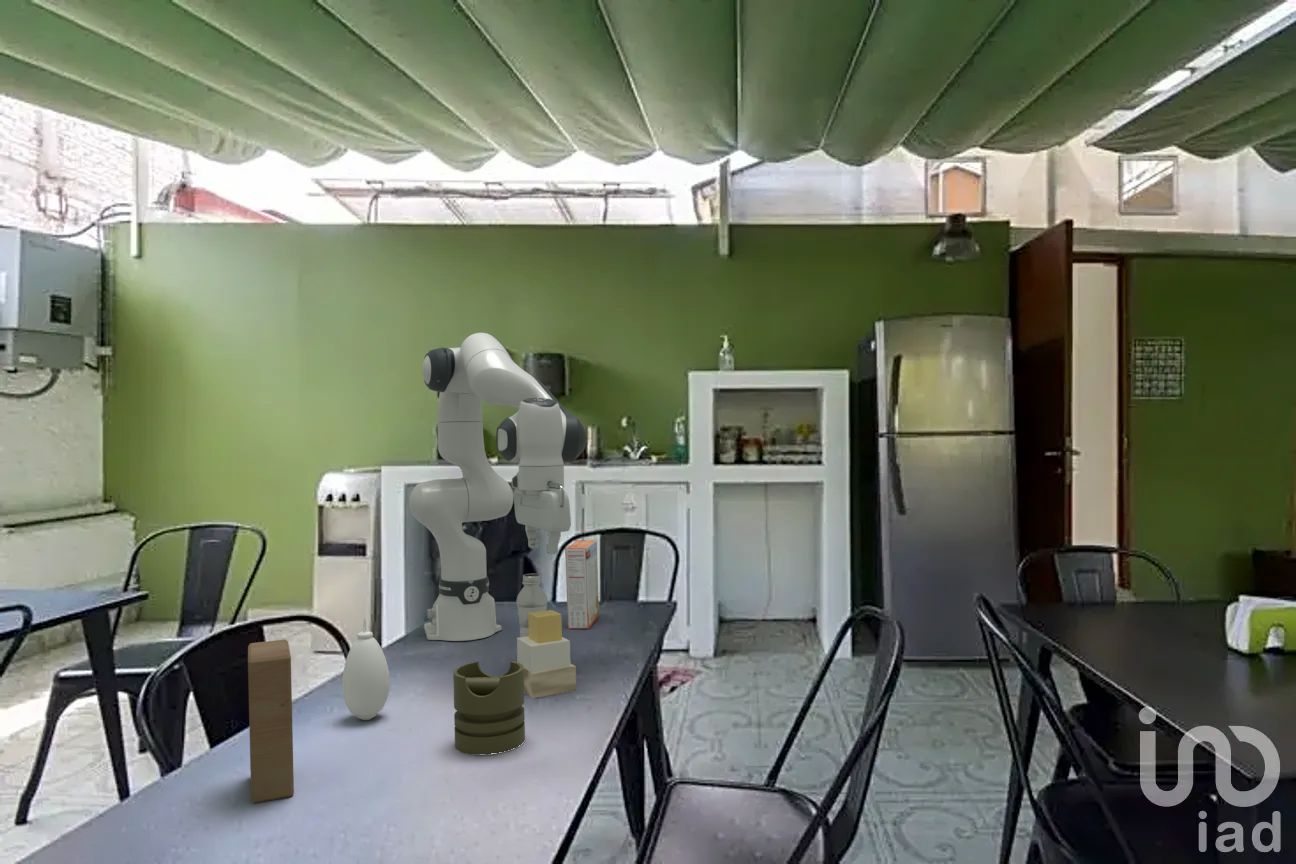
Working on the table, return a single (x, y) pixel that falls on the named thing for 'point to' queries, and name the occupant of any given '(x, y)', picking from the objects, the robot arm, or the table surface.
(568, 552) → the cracker box
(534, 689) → the birch tower base
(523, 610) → the plastic bottle
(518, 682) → the piston
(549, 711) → the table surface
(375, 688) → the air blower bulb
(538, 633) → the mustard cube
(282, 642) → the decorative block
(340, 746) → the table surface
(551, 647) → the painted tower top
